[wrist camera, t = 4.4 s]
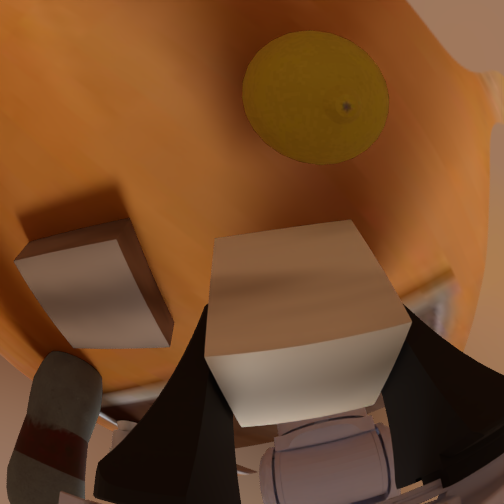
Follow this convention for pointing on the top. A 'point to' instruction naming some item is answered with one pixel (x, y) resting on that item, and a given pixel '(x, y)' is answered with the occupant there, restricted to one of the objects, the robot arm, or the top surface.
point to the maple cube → (301, 323)
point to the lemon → (315, 97)
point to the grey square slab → (98, 287)
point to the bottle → (55, 432)
